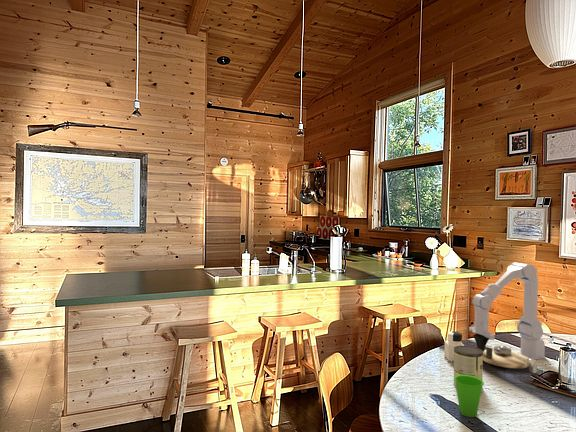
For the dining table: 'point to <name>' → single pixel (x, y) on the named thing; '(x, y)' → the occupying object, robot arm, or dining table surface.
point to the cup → (468, 394)
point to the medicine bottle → (452, 344)
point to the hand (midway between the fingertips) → (481, 351)
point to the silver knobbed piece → (531, 365)
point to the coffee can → (468, 361)
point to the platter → (505, 359)
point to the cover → (502, 350)
